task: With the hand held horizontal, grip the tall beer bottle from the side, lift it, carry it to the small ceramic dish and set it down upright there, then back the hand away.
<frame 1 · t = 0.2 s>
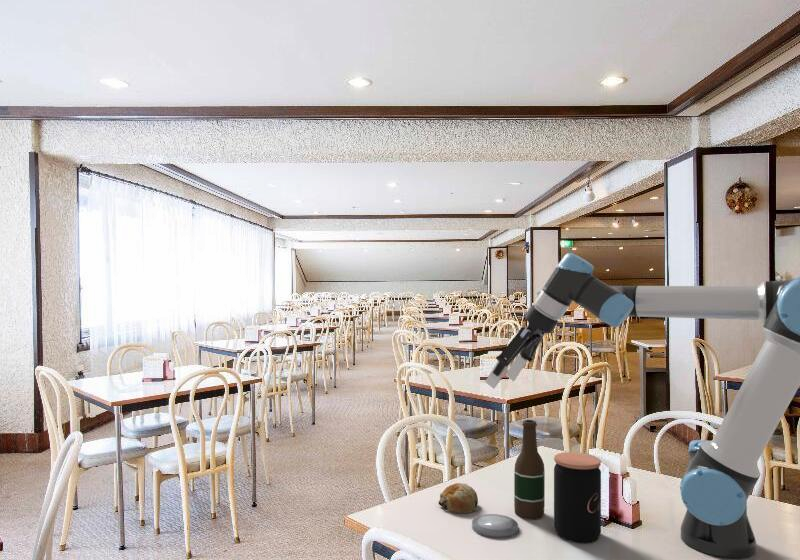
hand: (499, 381, 145), 35 cm above the table, tool tilted 35°, fingers open, 13 cm apart
coffee jar: (577, 535, 136), on the table
beer bottle: (529, 514, 148), on the table
dish: (494, 528, 140), on the table
bread roll: (458, 508, 153), on the table
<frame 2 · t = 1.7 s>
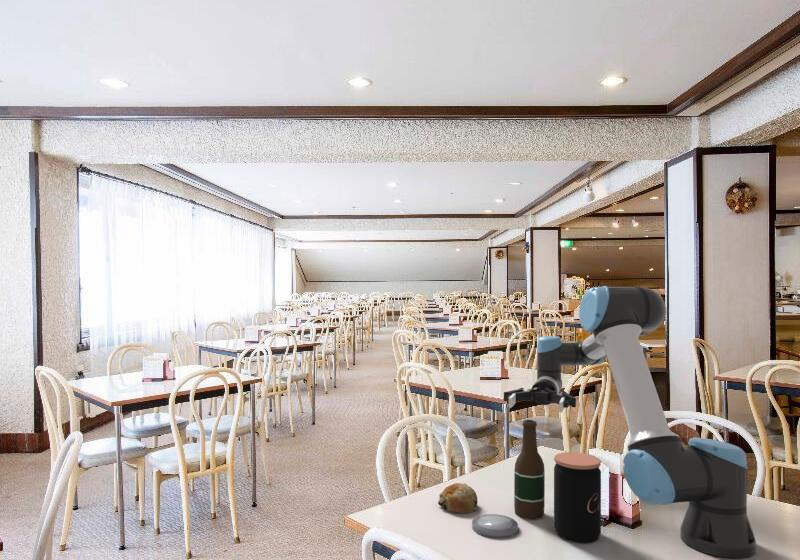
hand: (534, 405, 157), 26 cm above the table, tool horizontal, fingers open, 13 cm apart
nothing on the table moved.
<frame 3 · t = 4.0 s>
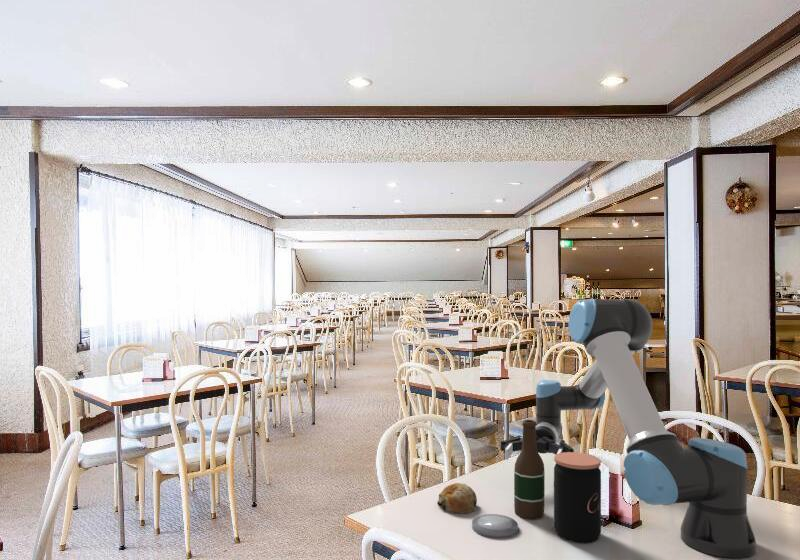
hand: (531, 457, 154), 13 cm above the table, tool horizontal, fingers open, 13 cm apart
nothing on the table moved.
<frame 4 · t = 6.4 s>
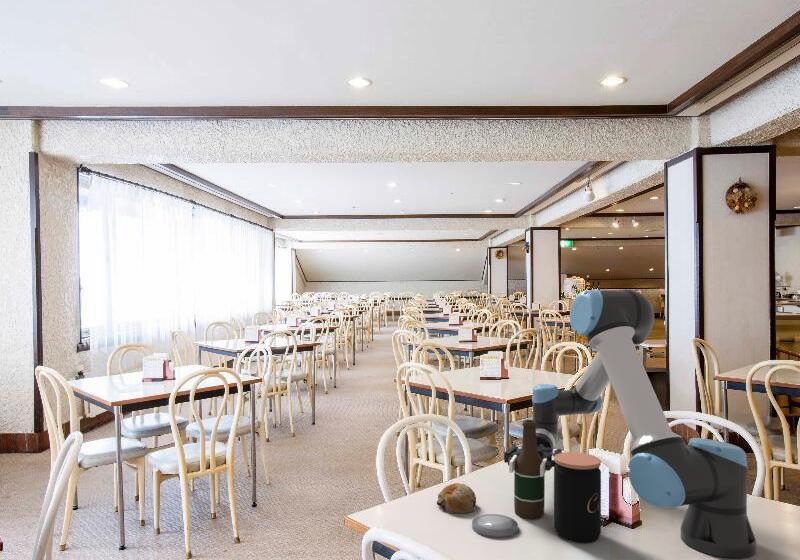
hand: (526, 469, 144), 13 cm above the table, tool horizontal, fingers closed on beer bottle, 7 cm apart
beer bottle: (529, 514, 148), on the table, touching gripper
everything else where it was.
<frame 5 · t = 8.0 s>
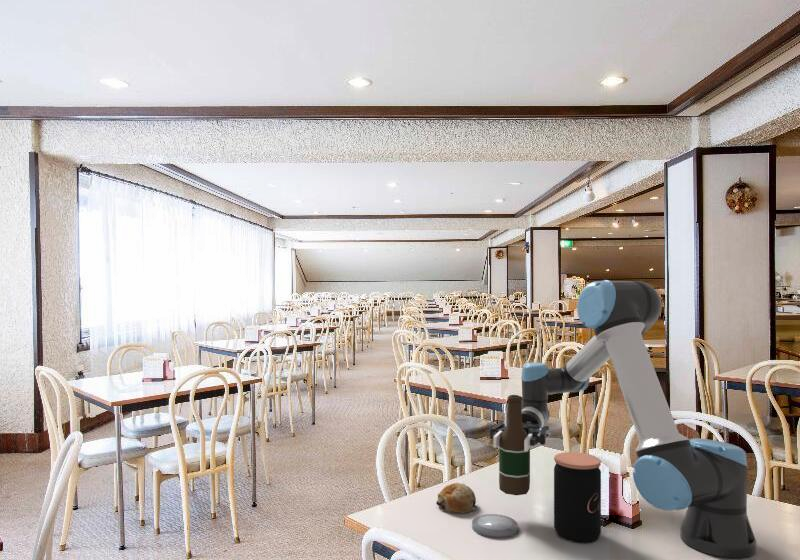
hand: (510, 443, 142), 20 cm above the table, tool horizontal, fingers closed on beer bottle, 7 cm apart
beer bottle: (514, 491, 146), point 7 cm above the table, touching gripper
everything else where it was.
when the fingers open (16 cm above the table, at t = 10.0 s): beer bottle drops 1 cm, resting on dish.
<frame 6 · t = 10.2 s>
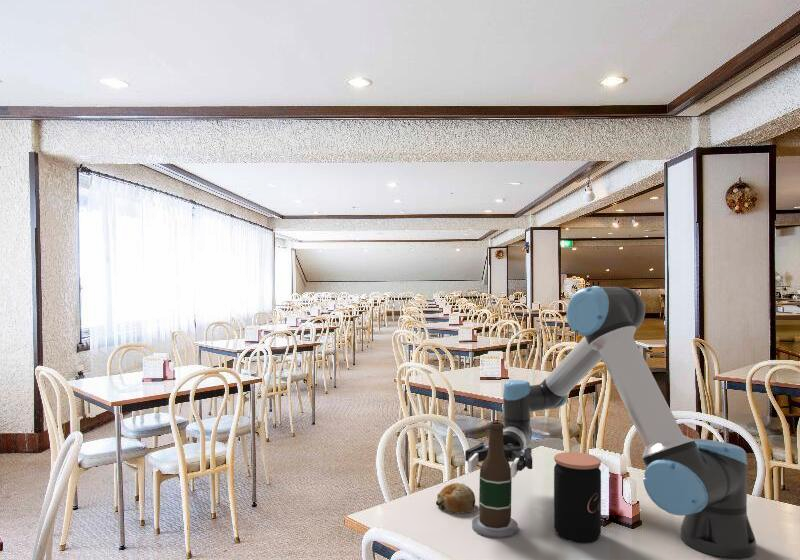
hand: (490, 468, 136), 16 cm above the table, tool horizontal, fingers open, 9 cm apart
beer bottle: (494, 522, 140), point 1 cm above the table, touching dish
everything else where it was.
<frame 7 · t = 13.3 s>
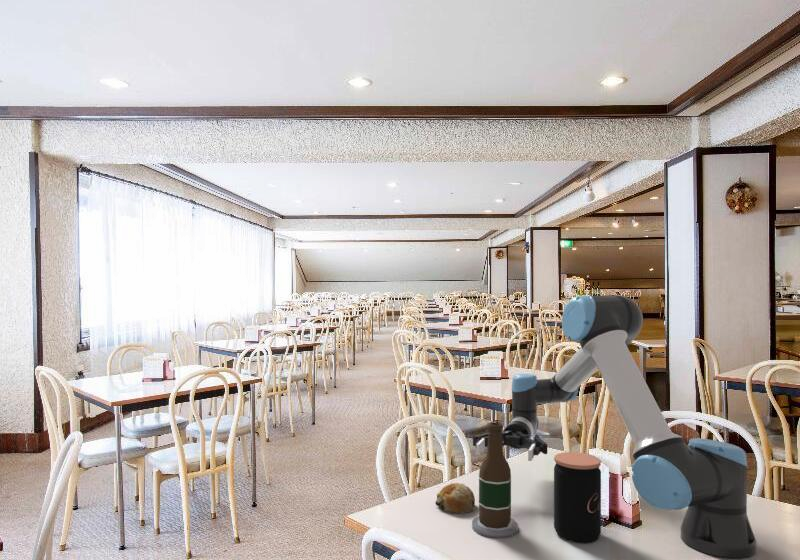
hand: (503, 452, 149), 16 cm above the table, tool horizontal, fingers open, 13 cm apart
nothing on the table moved.
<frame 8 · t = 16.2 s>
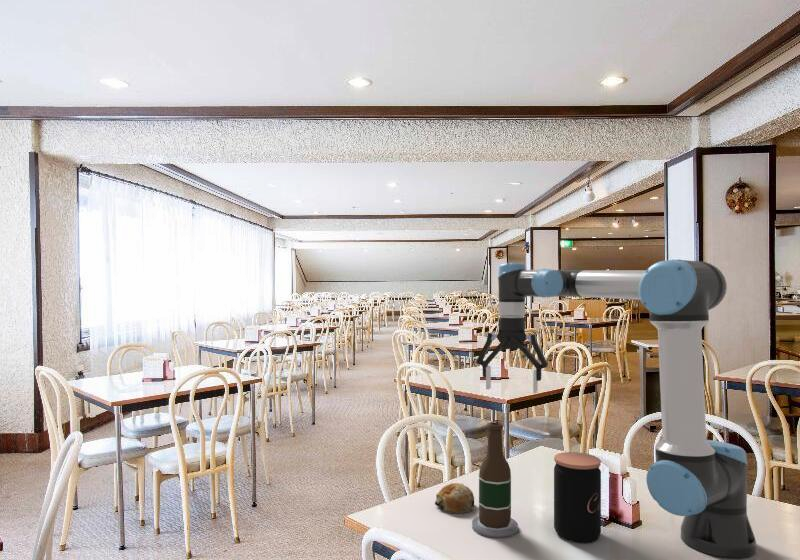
hand: (511, 390, 166), 29 cm above the table, tool pointing down, fingers open, 13 cm apart
nothing on the table moved.
at the end: beer bottle inside the target area on the dish (0.0 cm from its centre), point 1.2 cm above the dish's base; beer bottle tilted 0°; the gripper is holding nothing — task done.
